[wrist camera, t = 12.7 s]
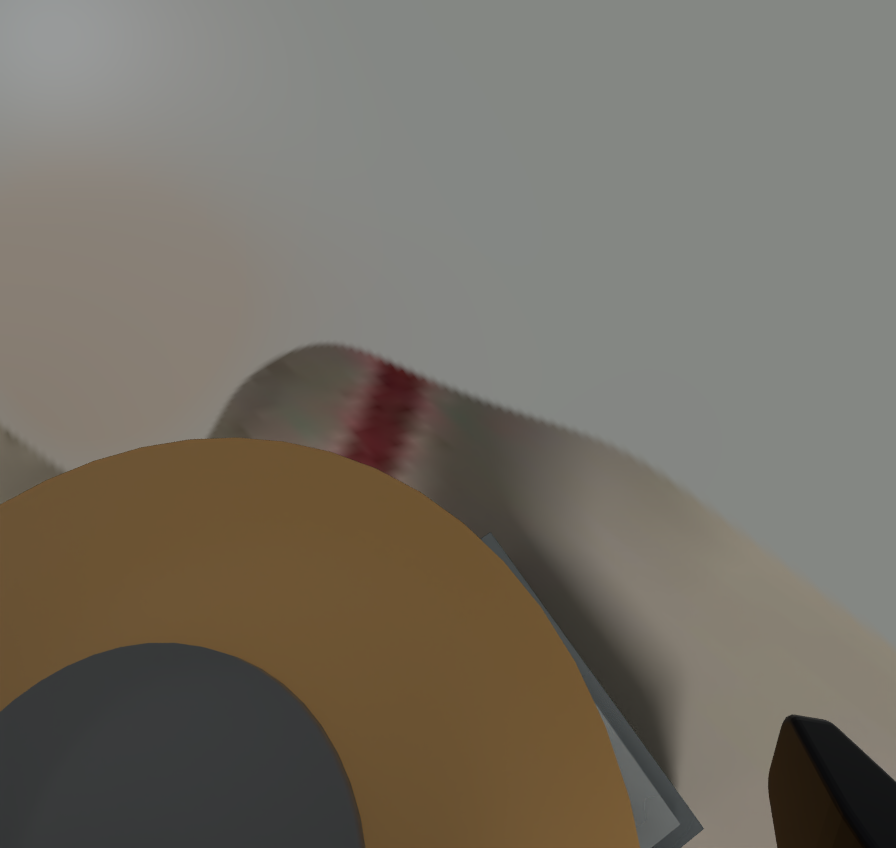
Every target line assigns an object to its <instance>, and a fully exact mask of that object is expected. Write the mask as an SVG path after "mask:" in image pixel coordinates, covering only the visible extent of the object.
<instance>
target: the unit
mask: <svg viewBox="0 0 896 848" xmlns="http://www.w3.org/2000/svg"><path fill="white" fill-rule="evenodd" d="M481 540H482V541H483V542H484V543H485V544H486V545H487V546H488V547H489V548H490V549H491V550H492V551H493V552H494V553H495V554H496V555H497V556H499V557H500V558H501V559H502V560H503V561H504V562H505V564H506V565H507V566H508V567H509V569H510V570H511V571H512V572H513V573H514V575H515V576H516V577H517V578H518V580H519V581H520V582H521V583H522V585H523V586H524V587H525V588H526V589H527V591H528V592H529V593H530V594H531V596H532V597H533V598H534V599H535V601H536V602H537V603H538V604H539V605H540V607H541V608H542V610H543V611H544V613H545V614H546V616H547V618H548V619H549V621H550V622H551V624H552V626H553V627H554V629H555V630H556V632H557V634H558V635H559V637H560V638H561V640H562V642H563V643H564V645H565V646H566V648H567V650H568V651H569V653H570V654H571V656H572V658H573V659H574V661H575V662H576V664H577V667H578V669H579V671H580V673H581V675H582V677H583V679H584V682H585V684H586V686H587V688H588V690H589V692H590V694H591V696H592V699H593V701H594V703H595V705H596V707H597V709H598V711H599V714H600V716H601V718H602V720H603V722H604V724H605V726H606V729H607V732H608V735H609V738H610V741H611V744H612V747H613V750H614V753H615V756H616V759H617V762H618V765H619V768H620V771H621V774H622V777H623V780H624V783H625V786H626V789H627V792H628V795H629V798H630V803H631V807H632V812H633V817H634V821H635V826H636V831H637V835H638V840H639V845H640V848H681V847H682V846H683V845H685V844H686V843H687V842H688V841H689V840H691V839H692V838H693V837H694V836H696V835H697V834H698V833H699V832H700V831H702V830H703V829H704V828H703V827H702V825H701V824H700V822H699V821H698V820H697V818H696V817H695V816H694V814H693V813H692V811H691V810H690V809H689V807H688V806H687V804H686V803H685V802H684V800H683V799H682V797H681V796H680V795H679V793H678V792H677V790H676V789H675V788H674V786H673V785H672V784H671V782H670V781H669V779H668V778H667V777H666V775H665V774H664V772H663V771H662V770H661V768H660V767H659V765H658V764H657V763H656V761H655V760H654V759H653V757H652V756H651V754H650V753H649V752H648V750H647V749H646V747H645V746H644V745H643V743H642V742H641V740H640V739H639V738H638V736H637V735H636V734H635V732H634V731H633V729H632V728H631V727H630V725H629V724H628V722H627V721H626V720H625V718H624V717H623V715H622V714H621V713H620V711H619V710H618V709H617V707H616V706H615V704H614V703H613V702H612V700H611V699H610V697H609V696H608V695H607V693H606V692H605V690H604V689H603V688H602V686H601V685H600V683H599V682H598V681H597V679H596V678H595V677H594V675H593V674H592V672H591V671H590V670H589V668H588V667H587V665H586V664H585V663H584V661H583V660H582V658H581V657H580V656H579V654H578V653H577V652H576V650H575V649H574V647H573V646H572V645H571V643H570V642H569V640H568V639H567V638H566V636H565V635H564V633H563V632H562V631H561V629H560V628H559V627H558V625H557V624H556V622H555V621H554V620H553V618H552V617H551V615H550V614H549V613H548V611H547V610H546V608H545V607H544V606H543V604H542V603H541V602H540V600H539V599H538V597H537V596H536V595H535V593H534V592H533V590H532V589H531V588H530V586H529V585H528V583H527V582H526V581H525V579H524V578H523V577H522V575H521V574H520V572H519V571H518V570H517V568H516V567H515V565H514V564H513V563H512V561H511V560H510V558H509V557H508V556H507V554H506V553H505V551H504V550H503V549H502V547H501V546H500V545H499V543H498V542H497V540H496V539H495V538H494V536H493V535H492V533H491V532H490V533H488V534H487V535H485V536H484V537H483V538H481Z"/></svg>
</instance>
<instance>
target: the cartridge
mask: <svg viewBox="0 0 896 848" xmlns="http://www.w3.org/2000/svg"><path fill="white" fill-rule="evenodd" d="M0 848H640V845H639V840H638V835H637V831H636V826H635V821H634V817H633V812H632V807H631V803H630V798H629V795H628V792H627V789H626V786H625V783H624V780H623V777H622V774H621V771H620V768H619V765H618V762H617V759H616V756H615V753H614V750H613V747H612V744H611V741H610V738H609V735H608V732H607V729H606V726H605V724H604V722H603V720H602V718H601V716H600V714H599V711H598V709H597V707H596V705H595V703H594V701H593V699H592V696H591V694H590V692H589V690H588V688H587V686H586V684H585V682H584V679H583V677H582V675H581V673H580V671H579V669H578V667H577V664H576V662H575V661H574V659H573V658H572V656H571V654H570V653H569V651H568V650H567V648H566V646H565V645H564V643H563V642H562V640H561V638H560V637H559V635H558V634H557V632H556V630H555V629H554V627H553V626H552V624H551V622H550V621H549V619H548V618H547V616H546V614H545V613H544V611H543V610H542V608H541V607H540V605H539V604H538V603H537V602H536V601H535V599H534V598H533V597H532V596H531V594H530V593H529V592H528V591H527V589H526V588H525V587H524V586H523V585H522V583H521V582H520V581H519V580H518V578H517V577H516V576H515V575H514V573H513V572H512V571H511V570H510V569H509V567H508V566H507V565H506V564H505V562H504V561H503V560H502V559H501V558H500V557H499V556H497V555H496V554H495V553H494V552H493V551H492V550H491V549H490V548H489V547H488V546H487V545H486V544H485V543H484V542H483V541H482V540H481V539H479V538H478V537H477V536H476V535H475V534H474V533H473V532H472V531H471V530H470V529H469V528H468V527H467V526H466V525H465V524H464V523H462V522H461V521H460V520H458V519H457V518H455V517H454V516H453V515H451V514H450V513H449V512H447V511H446V510H444V509H443V508H442V507H440V506H439V505H437V504H436V503H435V502H433V501H432V500H430V499H429V498H428V497H426V496H425V495H424V494H422V493H421V492H419V491H417V490H415V489H413V488H411V487H410V486H408V485H406V484H404V483H402V482H400V481H398V480H396V479H395V478H393V477H391V476H389V475H387V474H385V473H383V472H381V471H379V470H378V469H376V468H373V467H370V466H367V465H365V464H362V463H359V462H357V461H354V460H351V459H348V458H346V457H343V456H340V455H337V454H335V453H332V452H329V451H324V450H320V449H315V448H310V447H306V446H301V445H297V444H292V443H288V442H282V441H270V440H259V439H247V438H216V439H193V440H184V441H178V442H172V443H166V444H160V445H153V446H147V447H141V448H138V449H135V450H131V451H127V452H124V453H121V454H117V455H113V456H110V457H106V458H103V459H99V460H96V461H93V462H90V463H88V464H85V465H83V466H80V467H78V468H75V469H73V470H70V471H68V472H65V473H63V474H61V475H58V476H56V477H53V478H51V479H48V480H46V481H44V482H42V483H40V484H38V485H36V486H35V487H33V488H31V489H29V490H27V491H25V492H23V493H21V494H19V495H18V496H16V497H14V498H12V499H10V500H8V501H6V502H4V503H2V504H1V505H0Z"/></svg>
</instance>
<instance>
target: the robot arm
mask: <svg viewBox="0 0 896 848" xmlns="http://www.w3.org/2000/svg"><path fill="white" fill-rule="evenodd" d="M768 791H769V799H770V806H771V812H772V818H773V824H774V830H775V836H776V842H777V848H896V781H894V780H893V779H892V778H891V777H890V776H889V775H888V774H887V773H886V772H885V771H884V770H883V769H882V768H880V767H879V766H878V765H877V764H876V763H875V762H874V761H873V760H872V759H871V758H870V757H869V756H868V755H866V754H865V753H864V752H863V751H862V750H861V749H860V748H859V747H858V746H857V745H856V744H855V743H854V742H852V741H851V740H850V739H849V738H848V737H847V736H846V735H845V734H844V733H843V732H842V731H841V730H840V729H838V728H837V727H836V726H835V725H834V724H832V723H831V722H829V721H826V720H823V719H817V718H811V717H805V716H799V715H790V716H788V717H786V718H785V720H784V721H783V723H782V726H781V730H780V734H779V737H778V741H777V745H776V748H775V752H774V756H773V759H772V763H771V767H770V771H769V778H768Z"/></svg>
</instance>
